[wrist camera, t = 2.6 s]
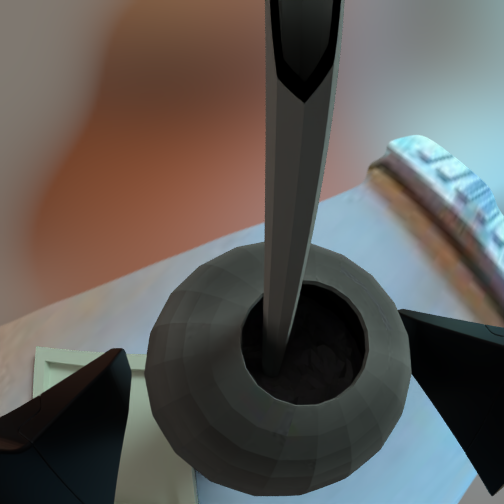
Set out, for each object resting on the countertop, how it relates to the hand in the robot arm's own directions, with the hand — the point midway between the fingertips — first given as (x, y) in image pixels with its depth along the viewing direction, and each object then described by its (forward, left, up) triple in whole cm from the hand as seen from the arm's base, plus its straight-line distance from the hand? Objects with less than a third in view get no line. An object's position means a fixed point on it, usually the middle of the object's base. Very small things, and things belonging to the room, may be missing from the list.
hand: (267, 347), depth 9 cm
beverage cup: (-1, 0, -11) cm, 11 cm away
